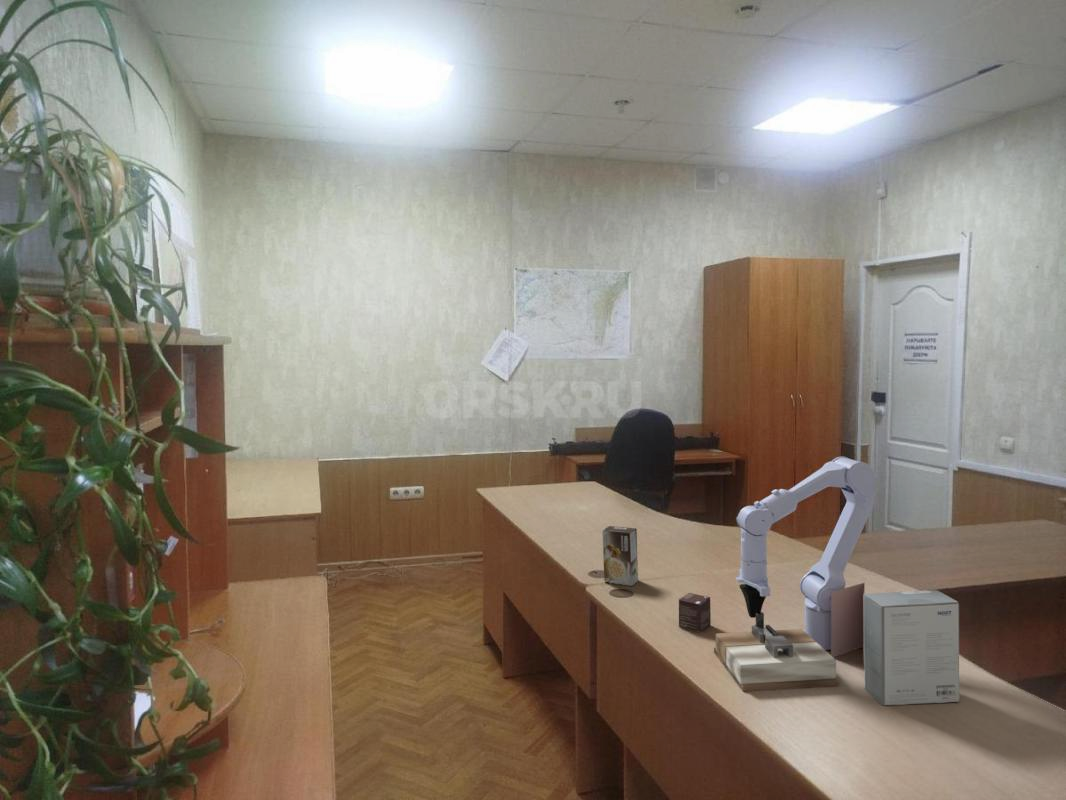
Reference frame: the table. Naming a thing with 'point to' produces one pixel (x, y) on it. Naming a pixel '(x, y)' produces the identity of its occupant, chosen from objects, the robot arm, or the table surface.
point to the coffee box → (620, 555)
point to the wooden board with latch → (775, 660)
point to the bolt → (762, 624)
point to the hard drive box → (911, 647)
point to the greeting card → (847, 619)
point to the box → (694, 612)
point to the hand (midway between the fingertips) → (754, 616)
